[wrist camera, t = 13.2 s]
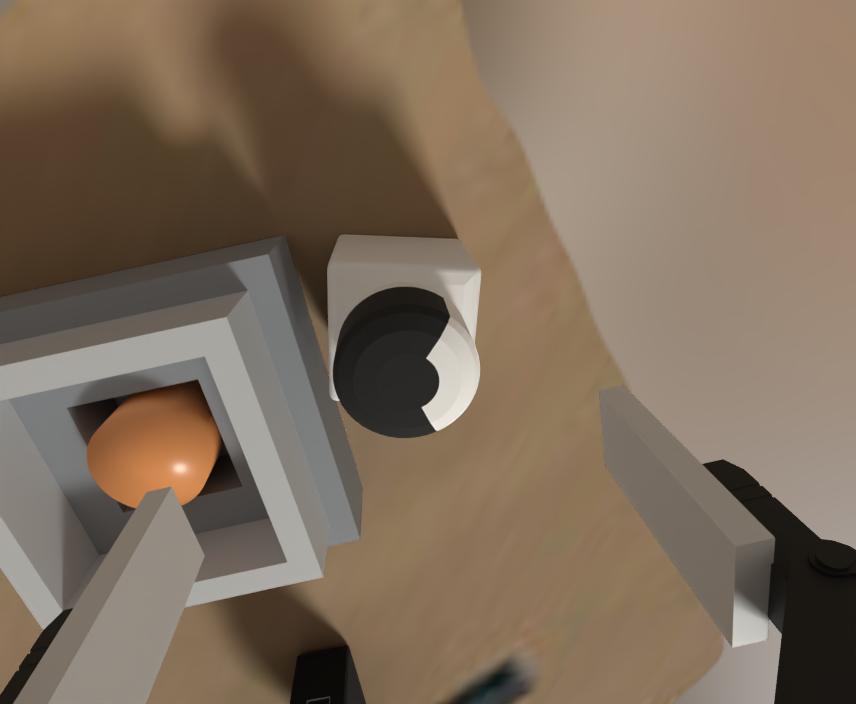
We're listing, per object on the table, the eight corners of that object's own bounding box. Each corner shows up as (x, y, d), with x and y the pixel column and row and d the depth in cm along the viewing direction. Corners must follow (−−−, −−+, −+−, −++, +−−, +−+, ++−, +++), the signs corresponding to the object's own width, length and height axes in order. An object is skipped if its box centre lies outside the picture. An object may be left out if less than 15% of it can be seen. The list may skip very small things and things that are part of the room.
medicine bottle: (338, 348, 33) (318, 458, 22) (337, 232, 31) (314, 293, 20) (452, 350, 34) (488, 458, 23) (461, 237, 31) (506, 298, 20)
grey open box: (110, 543, 37) (34, 661, 29) (-27, 302, 30) (-179, 368, 22) (362, 488, 37) (358, 591, 29) (284, 235, 30) (249, 275, 22)
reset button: (153, 465, 34) (116, 521, 29) (112, 382, 32) (65, 428, 27) (246, 445, 34) (224, 497, 29) (212, 360, 32) (183, 402, 27)
